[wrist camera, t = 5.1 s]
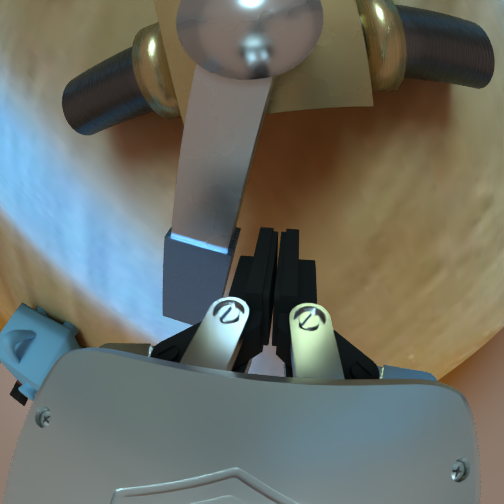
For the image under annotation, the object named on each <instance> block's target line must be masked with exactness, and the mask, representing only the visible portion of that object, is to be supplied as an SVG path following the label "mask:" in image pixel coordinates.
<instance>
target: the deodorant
mask: <svg viewBox="0 0 504 504" xmlns="http://www.w3.org/2000/svg"><path fill="white" fill-rule="evenodd" d="M20 386H22V384H21V383H20V382H19V381H18V380H17V382H16V383H15V385H14V388H13V389H12V391H11V393H10V395H11V396H12V397H13V398H14V399H16V400H17V401H18V402H19V403H21V404H22V405H23V406H25V404H26V402H27V400H28V398H27V397H26V396H25V395H23V394H22V393H21V392H20V391H19V389H18V388H19V387H20Z"/></svg>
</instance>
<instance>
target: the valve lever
mask: <svg viewBox="0 0 504 504" xmlns="http://www.w3.org/2000/svg"><path fill="white" fill-rule="evenodd" d="M323 19H324V15H323V8H322V4H321V1H320V0H181V2H180V5H179V8H178V11H177V16H176V28H177V34H178V38H179V41H180V43H181V45H182V47H183V49H184V50H185V52H186V53H187V54H188V56H189V57H190V58H191V59H192V60H193V61H194V62H195V63H197V64H196V68H195V72H194V77H193V82H192V87H191V92H190V97H189V102H188V107H187V113H186V119H185V124H184V130H183V137H182V143H181V150H180V157H179V164H178V172H177V180H176V189H175V198H174V208H173V218H172V227H171V228H170V230H169V231H168V233H167V234H166V236H165V240H164V262H163V316H166V317H169V318H172V319H175V320H178V321H181V322H184V323H188V324H191V325H195V324H197V323H199V322H201V321H203V319H204V317H205V315H206V313H207V312H208V310H209V308H210V306H211V305H212V304H213V303H214V302H215V301H217V300H219V299H221V298H223V296H224V292H225V288H226V284H227V280H228V276H229V273H230V269H231V265H232V261H233V257H234V253H235V249H236V245H237V241H238V238H239V234H240V230H241V228H237V227H236V225H237V221H238V217H239V213H240V209H241V205H242V202H243V198H244V194H245V190H246V186H247V182H248V178H249V174H250V171H251V167H252V163H253V159H254V155H255V152H256V148H257V144H258V141H259V137H260V133H261V129H262V126H263V122H264V119H265V115H266V111H267V108H268V104H269V101H270V97H271V93H272V90H273V86H274V83H275V79H276V77H277V76H281V75H283V74H286V73H288V72H290V71H291V70H293V69H295V68H296V67H298V66H299V65H300V64H301V63H302V62H303V61H304V60H305V59H306V58H307V57H308V56H309V54H310V53H311V52H312V50H313V49H314V47H315V45H316V44H317V42H318V40H319V38H320V35H321V33H322V28H323Z"/></svg>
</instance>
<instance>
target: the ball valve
mask: <svg viewBox="0 0 504 504" xmlns="http://www.w3.org/2000/svg"><path fill="white" fill-rule="evenodd" d="M320 1H321V4H322V8H323V15H324V19H323V28H322V33H321V35H320V38H319V40H318V42H317V44H316V45H315V47H314V49H313V50H312V52H311V53H310V54H309V56H308V57H307V58H306V59H305V60H304V61H303V62H302V63H301V64H300V65H299V66H298V67H296V68H295V69H293V70H291V71H290V72H288V73H286V74H283V75H281V76H277V77H276V79H275V83H274V86H273V90H272V93H271V97H270V101H269V104H268V108H267V111H266V114H271V113H278V112H287V111H296V110H306V109H318V108H333V107H358V106H374V105H373V95H372V91H396V90H397V89H398V88H399V87H400V85H401V83H402V81H403V78H409V79H420V80H429V81H437V82H444V83H451V84H457V85H462V86H467V87H472V88H478V89H480V88H484V87H485V86H486V85H487V84H488V83H489V82H490V80H491V78H492V76H493V72H494V53H493V48H492V45H491V42H490V40H489V38H488V36H487V34H486V33H485V32H484V30H483V29H482V28H481V27H480V26H479V25H477V24H476V23H474V22H471V21H468V20H464V19H461V18H458V17H454V16H451V15H447V14H443V13H439V12H434V11H430V10H425V9H420V8H415V7H409V6H402V5H395V4H394V3H393V1H392V0H320ZM180 2H181V0H154V3H155V7H156V12H157V17H158V21H159V22H157V23H154V24H152V25H149V26H147V27H145V28H143V29H141V30H140V31H139V32H138V33H137V35H136V36H135V39H134V42H133V46H132V47H130V48H128V49H126V50H124V51H122V52H120V53H118V54H116V55H114V56H112V57H110V58H108V59H106V60H104V61H102V62H101V63H99V64H97V65H95V66H94V67H92V68H90V69H88V70H87V71H85V72H83V73H82V74H80V75H79V76H77V77H75V78H74V79H72V80H71V81H70V82H69V83H68V84H67V85H66V87H65V89H64V92H63V97H62V107H63V112H64V115H65V118H66V120H67V122H68V123H69V125H70V126H71V127H72V128H73V129H74V130H75V131H76V132H78V133H80V134H82V135H93V134H95V133H97V132H100V131H102V130H104V129H107V128H109V127H112V126H114V125H116V124H119V123H121V122H124V121H127V120H129V119H132V118H135V117H137V116H140V115H143V114H146V113H149V112H152V111H155V112H156V113H157V114H158V115H160V116H161V117H163V118H166V119H173V118H176V117H180V116H181V117H182V121H183V125H184V124H185V119H186V113H187V107H188V102H189V97H190V92H191V87H192V82H193V77H194V72H195V68H196V64H197V63H195V62H194V61H193V60H192V59H191V58H190V57H189V56H188V54H187V53H186V52H185V50H184V49H183V47H182V45H181V43H180V41H179V38H178V34H177V28H176V16H177V11H178V8H179V5H180Z"/></svg>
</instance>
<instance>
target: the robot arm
mask: <svg viewBox="0 0 504 504" xmlns="http://www.w3.org/2000/svg"><path fill="white" fill-rule="evenodd" d="M277 252H278V232H275V231H273V228H263V227H261V228H260V232H259V236H258V241H257V245H256V249H255V253H254V257H253V256H240V259H239V262H238V266H237V269H236V272H235V276H234V279H233V283H232V286H231V289H230V293H229V296H228V297H225V298H221V299H219V300H217V301H215V302H214V303H213V304H212V305H211V306H210V308H209V310H208V312H207V313H206V315H205V317H204V319H203V321H201V322H199V323H197V324H195V325H193V326H191V327H189V328H187V329H186V330H184V331H182V332H180V333H178V334H176V335H174V336H172V337H170V338H168V339H166V340H164V341H162V342H160V343H159V344H157V345H156V346H151V344H132V343H107V344H104V345H102V346H100V347H99V348H81V349H75V350H72V351H69V352H67V353H65V354H63V355H62V356H61V357H60V358H59V359H58V360H57V361H56V362H55V364H54V365H53V367H52V368H51V370H50V371H49V373H48V374H47V376H46V378H45V379H44V381H43V383H42V385H41V387H40V388H39V390H38V392H37V394H36V396H35V398H34V400H33V403H32V405H31V407H30V410H29V412H28V415H27V417H26V419H25V422H24V424H23V427H22V430H21V432H20V435H19V437H18V441H17V444H16V447H15V450H14V454H13V457H12V461H11V464H10V468H9V471H8V476H7V481H6V486H5V492H4V497H3V504H480V494H481V492H480V491H481V478H480V476H481V475H480V455H479V445H478V439H477V432H476V427H475V422H474V418H473V415H472V411H471V409H470V406H469V403H468V401H467V399H466V398H465V396H464V395H463V394H462V393H461V392H460V391H459V390H457V389H455V388H454V387H451V386H449V385H446V384H443V383H440V382H438V381H437V380H436V378H435V377H434V376H433V375H432V374H431V373H428V372H423V371H417V370H411V369H405V368H399V367H393V366H388V365H384V366H383V367H379V366H377V365H376V364H375V363H374V362H373V361H372V360H371V359H370V358H368V357H367V356H366V355H365V354H363V353H362V352H361V351H360V350H358V349H357V348H356V347H355V346H353V345H352V344H351V343H350V342H348V341H347V340H346V339H345V338H343V337H342V336H341V335H340V334H338V333H337V332H336V331H335V330H333V327H332V323H331V319H330V316H329V313H328V312H327V311H326V310H325V309H324V308H323V307H321V306H320V305H317V289H316V266H315V260H299V230H298V229H287V230H286V232H281V240H280V249H279V258H278V266H277ZM273 306H274V309H273ZM272 314H273V333H272V346H277V348H276V355H277V356H278V357H279V358H280V359H281V360H282V361H283V362H284V377H278V376H267V375H257V374H247V373H248V371H249V368H250V365H251V362H252V358H253V357H255V356H256V355H258V354H259V353H260V352H262V351H263V345H268V344H269V337H270V329H271V322H272Z"/></svg>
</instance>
